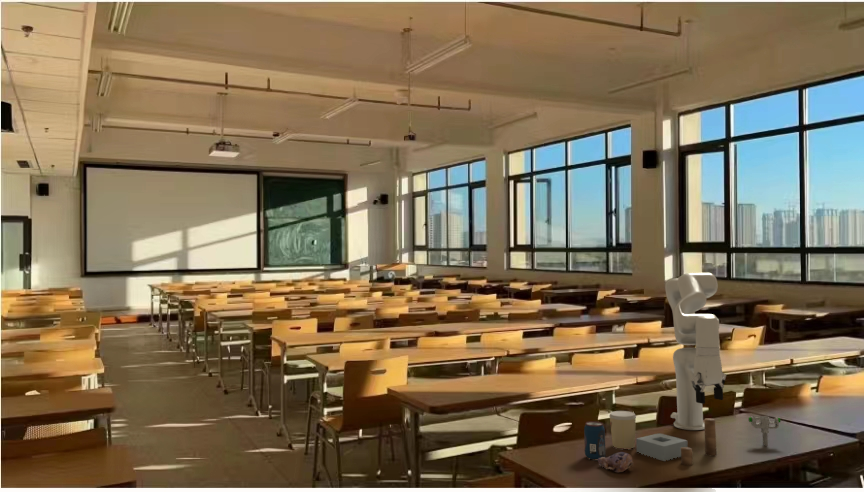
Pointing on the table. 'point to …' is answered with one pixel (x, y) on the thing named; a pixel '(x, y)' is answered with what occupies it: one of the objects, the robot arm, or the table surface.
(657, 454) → the hole block
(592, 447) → the soda can
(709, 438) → the long dowel
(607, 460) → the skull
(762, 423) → the mechanical component
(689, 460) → the short dowel
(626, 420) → the coffee cup
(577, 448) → the table surface
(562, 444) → the table surface
